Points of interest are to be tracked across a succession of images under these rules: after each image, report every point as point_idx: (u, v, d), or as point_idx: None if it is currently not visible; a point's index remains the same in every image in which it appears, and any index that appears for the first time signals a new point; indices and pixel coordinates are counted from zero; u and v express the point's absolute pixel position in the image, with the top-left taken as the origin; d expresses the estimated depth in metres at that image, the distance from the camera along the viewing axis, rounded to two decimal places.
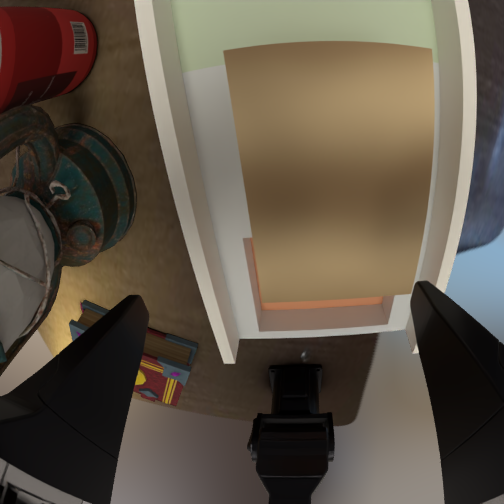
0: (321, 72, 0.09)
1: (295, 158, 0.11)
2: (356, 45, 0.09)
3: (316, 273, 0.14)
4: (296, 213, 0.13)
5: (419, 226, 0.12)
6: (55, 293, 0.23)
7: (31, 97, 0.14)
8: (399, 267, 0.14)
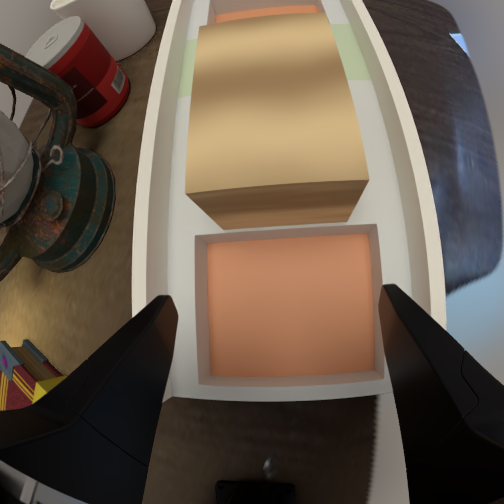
0: (253, 27, 0.14)
1: (231, 65, 0.14)
2: (275, 16, 0.14)
3: (245, 150, 0.13)
4: (229, 97, 0.14)
5: (347, 102, 0.13)
6: (0, 273, 0.19)
7: (73, 91, 0.21)
8: (340, 142, 0.12)
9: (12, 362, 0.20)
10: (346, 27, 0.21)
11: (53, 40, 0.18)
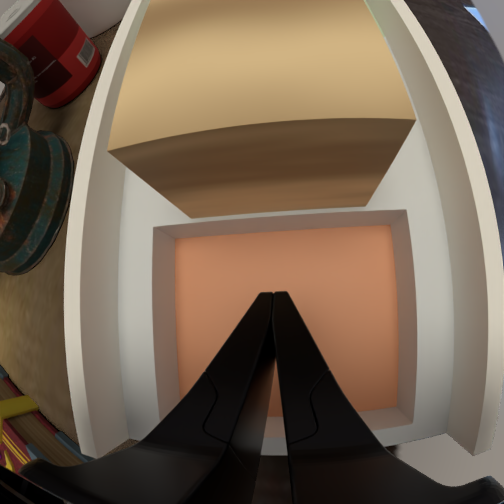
0: None
1: None
2: None
3: (206, 78, 0.07)
4: (189, 20, 0.08)
5: (366, 19, 0.07)
6: None
7: (32, 64, 0.15)
8: (361, 64, 0.07)
9: None
10: None
11: (16, 11, 0.12)
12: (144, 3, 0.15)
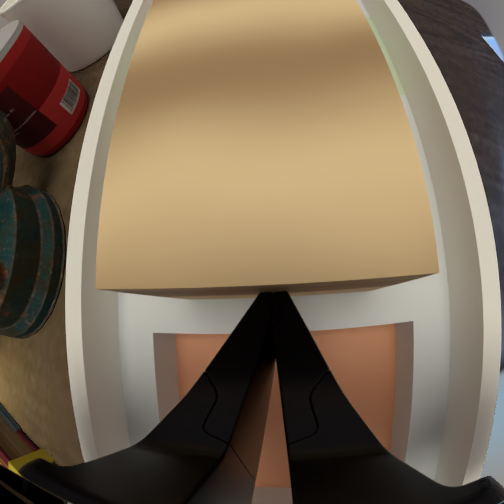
0: None
1: (189, 47, 0.08)
2: None
3: (199, 206, 0.07)
4: (177, 101, 0.07)
5: (395, 110, 0.06)
6: None
7: (11, 116, 0.15)
8: (387, 192, 0.06)
9: None
10: None
11: None
12: (129, 46, 0.14)
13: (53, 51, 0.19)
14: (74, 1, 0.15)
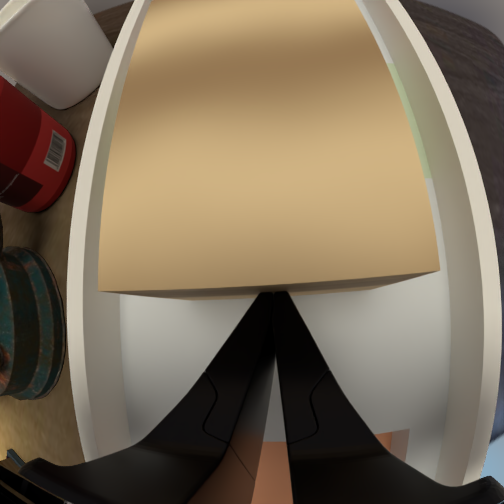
0: None
1: (188, 48, 0.08)
2: None
3: (200, 207, 0.07)
4: (177, 102, 0.07)
5: (394, 109, 0.06)
6: None
7: None
8: (387, 191, 0.06)
9: None
10: (389, 69, 0.14)
11: None
12: (112, 107, 0.14)
13: (35, 90, 0.18)
14: (53, 35, 0.14)
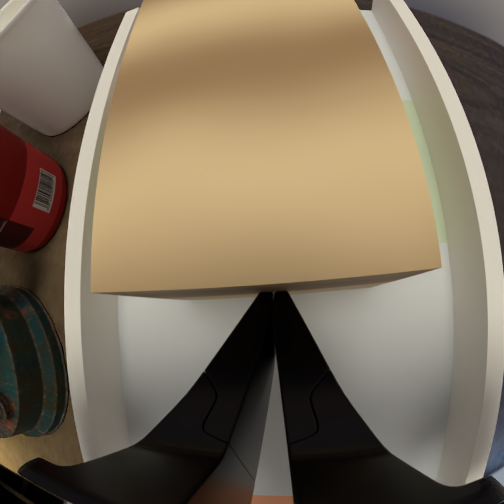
0: None
1: (181, 44, 0.08)
2: None
3: (193, 205, 0.07)
4: (169, 98, 0.07)
5: (392, 102, 0.06)
6: None
7: None
8: (386, 185, 0.06)
9: None
10: (407, 108, 0.13)
11: None
12: (99, 158, 0.13)
13: (21, 119, 0.17)
14: (35, 62, 0.13)
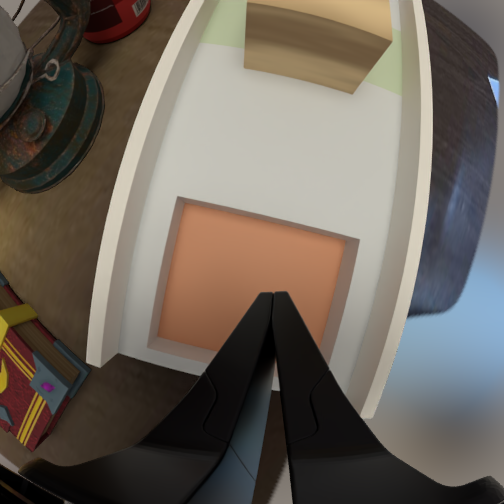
0: None
1: None
2: None
3: None
4: None
5: None
6: None
7: (90, 3, 0.15)
8: (375, 15, 0.12)
9: None
10: (396, 33, 0.19)
11: None
12: None
13: None
14: None
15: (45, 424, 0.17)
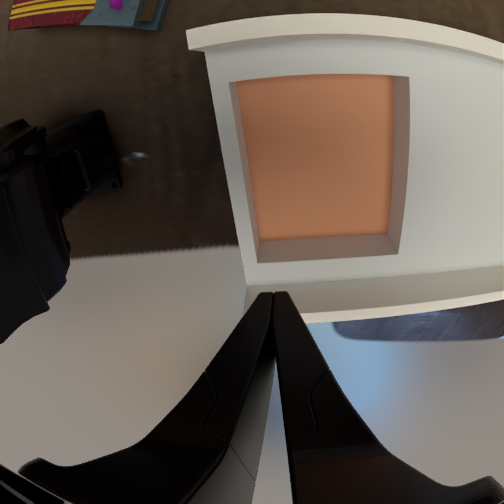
0: None
1: None
2: None
3: None
4: None
5: None
6: None
7: None
8: None
9: None
10: None
11: None
12: None
13: None
14: None
15: (58, 22, 0.11)
